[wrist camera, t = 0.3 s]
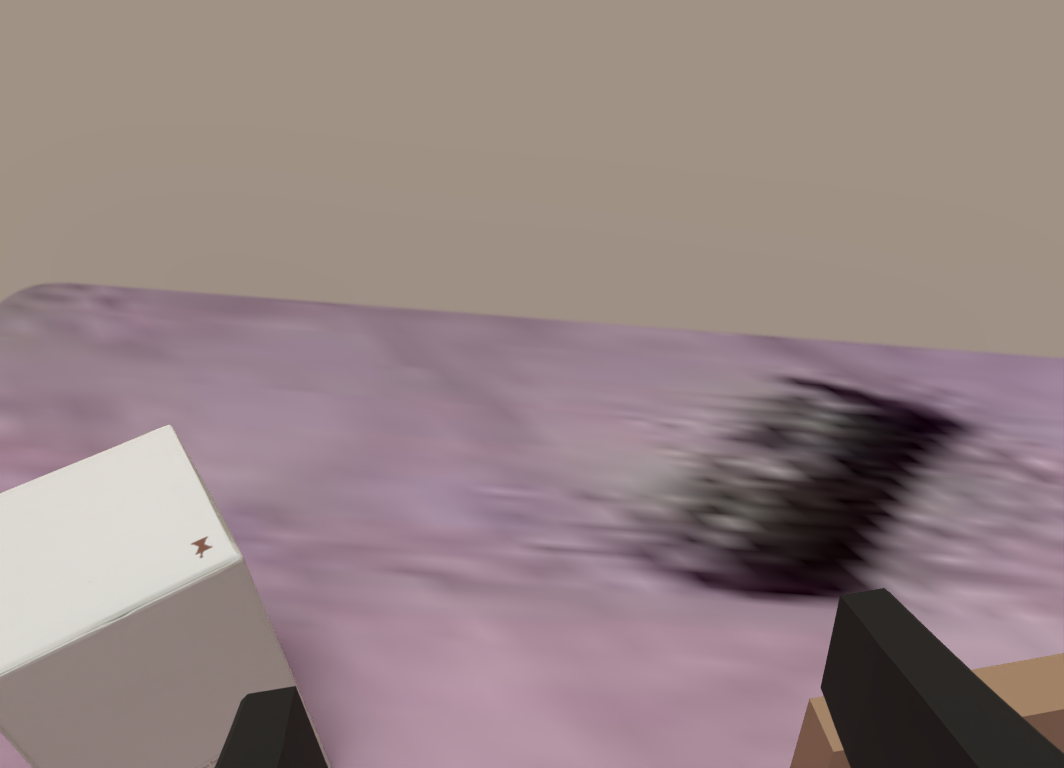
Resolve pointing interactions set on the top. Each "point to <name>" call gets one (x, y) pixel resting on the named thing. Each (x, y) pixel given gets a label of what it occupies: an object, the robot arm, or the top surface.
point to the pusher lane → (1027, 686)
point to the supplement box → (127, 615)
